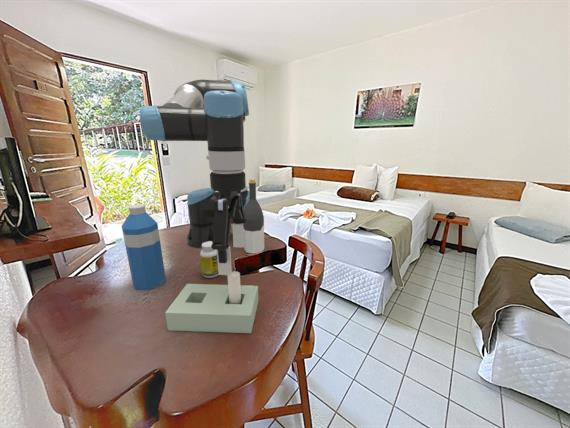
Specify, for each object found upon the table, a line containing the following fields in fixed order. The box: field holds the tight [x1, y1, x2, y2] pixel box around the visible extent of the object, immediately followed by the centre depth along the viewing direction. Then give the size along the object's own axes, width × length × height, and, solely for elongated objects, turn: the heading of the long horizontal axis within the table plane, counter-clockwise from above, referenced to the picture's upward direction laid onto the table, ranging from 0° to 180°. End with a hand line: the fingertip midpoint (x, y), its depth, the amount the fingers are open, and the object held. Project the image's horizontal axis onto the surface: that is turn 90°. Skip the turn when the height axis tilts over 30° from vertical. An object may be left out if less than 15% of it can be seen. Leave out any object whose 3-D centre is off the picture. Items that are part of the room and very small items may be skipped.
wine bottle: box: [242, 178, 265, 255], centre depth 94 cm, size 8×8×30 cm
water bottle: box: [121, 204, 167, 291], centre depth 74 cm, size 9×9×25 cm
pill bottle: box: [199, 241, 220, 279], centre depth 81 cm, size 6×6×11 cm
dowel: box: [226, 270, 241, 304], centre depth 61 cm, size 3×3×12 cm
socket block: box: [164, 283, 259, 334], centre depth 63 cm, size 12×20×5 cm, turn 88°
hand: (232, 259), depth 59 cm, fingers open, 13 cm apart
